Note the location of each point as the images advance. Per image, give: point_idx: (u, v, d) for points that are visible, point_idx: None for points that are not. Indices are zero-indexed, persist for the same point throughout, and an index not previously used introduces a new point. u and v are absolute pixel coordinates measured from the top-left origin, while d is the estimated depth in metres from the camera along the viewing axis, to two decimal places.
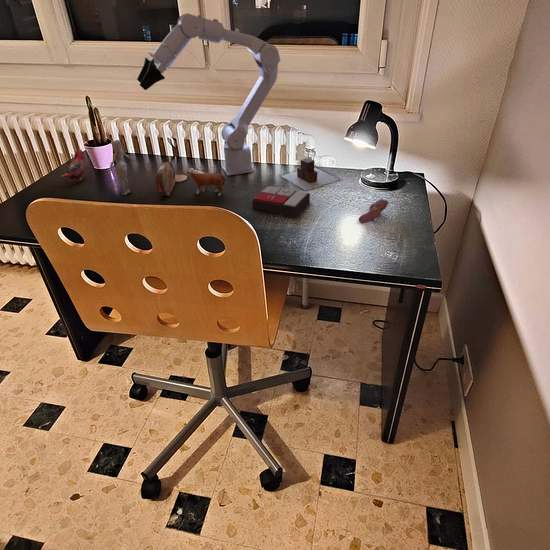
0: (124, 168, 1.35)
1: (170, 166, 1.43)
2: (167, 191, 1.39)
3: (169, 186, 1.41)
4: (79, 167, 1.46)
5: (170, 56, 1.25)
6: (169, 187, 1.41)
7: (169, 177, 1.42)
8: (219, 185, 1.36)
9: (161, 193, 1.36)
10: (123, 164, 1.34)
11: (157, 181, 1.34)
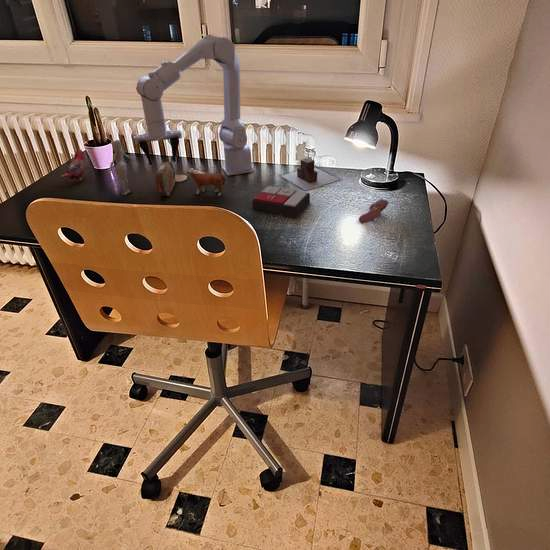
0: (124, 168, 1.35)
1: (170, 166, 1.43)
2: (167, 191, 1.39)
3: (169, 186, 1.41)
4: (79, 167, 1.46)
5: None
6: (169, 187, 1.41)
7: (169, 177, 1.42)
8: (219, 185, 1.36)
9: (161, 193, 1.36)
10: (123, 164, 1.34)
11: (157, 181, 1.34)
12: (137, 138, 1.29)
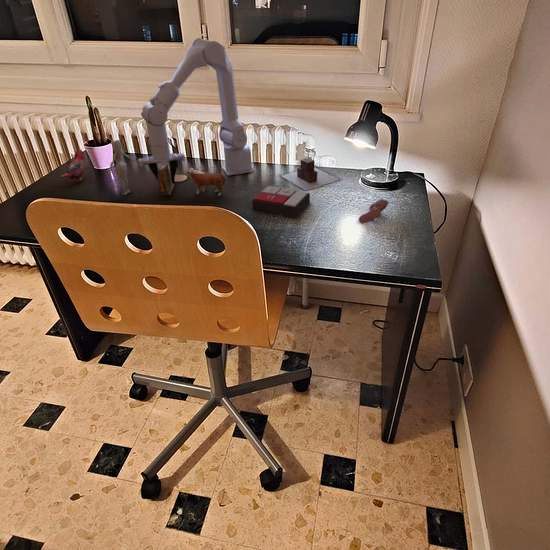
0: (124, 168, 1.35)
1: None
2: (168, 191, 1.39)
3: (170, 186, 1.41)
4: (79, 167, 1.46)
5: None
6: (170, 187, 1.41)
7: (169, 177, 1.42)
8: (219, 185, 1.36)
9: (163, 193, 1.36)
10: (123, 164, 1.34)
11: (159, 181, 1.33)
12: (142, 161, 1.33)
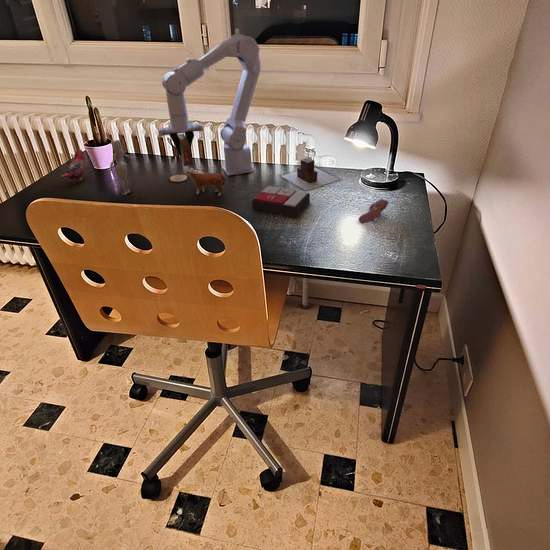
0: (124, 168, 1.35)
1: None
2: None
3: None
4: (79, 167, 1.46)
5: None
6: None
7: None
8: (219, 185, 1.36)
9: (187, 163, 1.39)
10: (123, 164, 1.34)
11: (184, 150, 1.36)
12: (161, 131, 1.36)
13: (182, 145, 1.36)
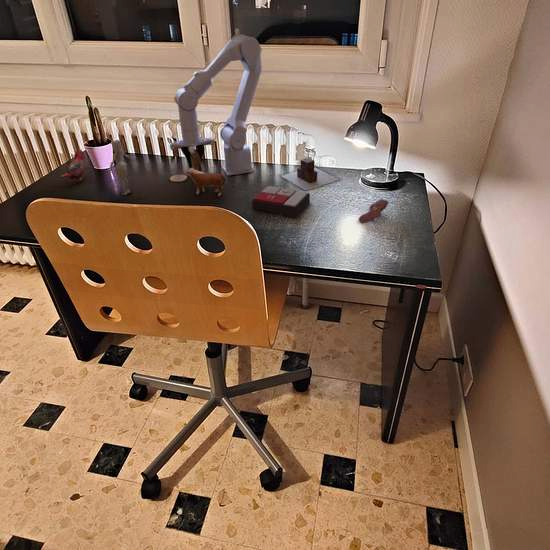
0: (124, 168, 1.35)
1: None
2: None
3: None
4: (79, 167, 1.46)
5: None
6: None
7: None
8: (219, 185, 1.36)
9: None
10: (123, 164, 1.34)
11: (195, 164, 1.40)
12: (173, 145, 1.40)
13: (193, 159, 1.40)
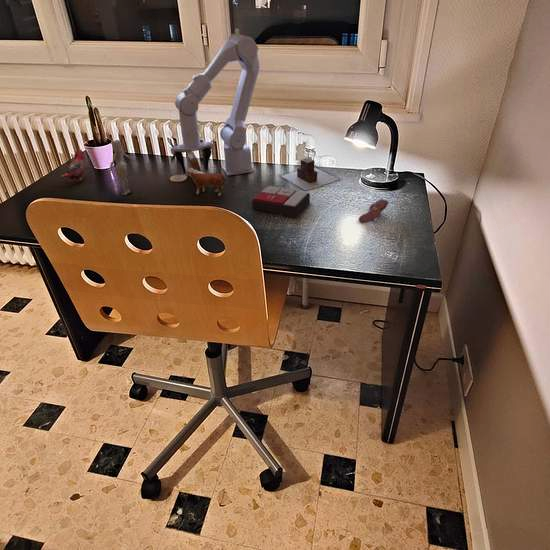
0: (124, 168, 1.35)
1: None
2: None
3: None
4: (79, 167, 1.46)
5: None
6: None
7: None
8: (219, 185, 1.36)
9: None
10: (123, 164, 1.34)
11: None
12: (174, 149, 1.41)
13: (192, 164, 1.41)
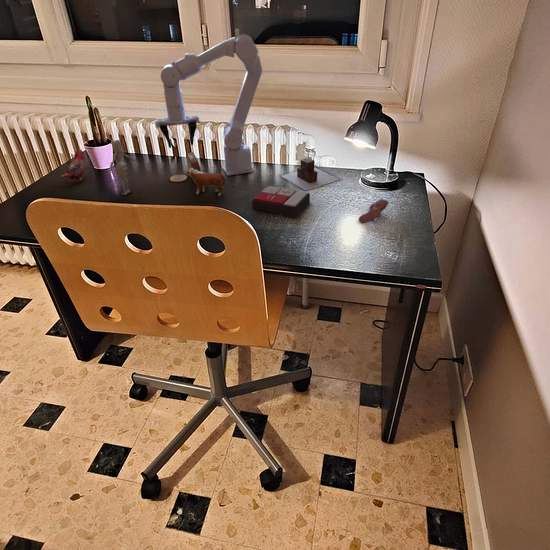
0: (124, 168, 1.35)
1: None
2: None
3: None
4: (79, 167, 1.46)
5: None
6: None
7: None
8: (219, 185, 1.36)
9: None
10: (123, 164, 1.34)
11: None
12: (158, 122, 1.40)
13: (192, 164, 1.41)
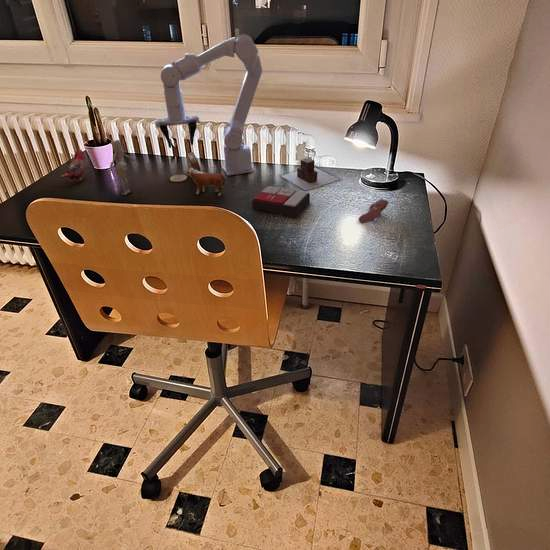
0: (124, 168, 1.35)
1: None
2: None
3: None
4: (79, 167, 1.46)
5: None
6: None
7: None
8: (219, 185, 1.36)
9: None
10: (123, 164, 1.34)
11: None
12: (158, 122, 1.40)
13: (192, 164, 1.41)
